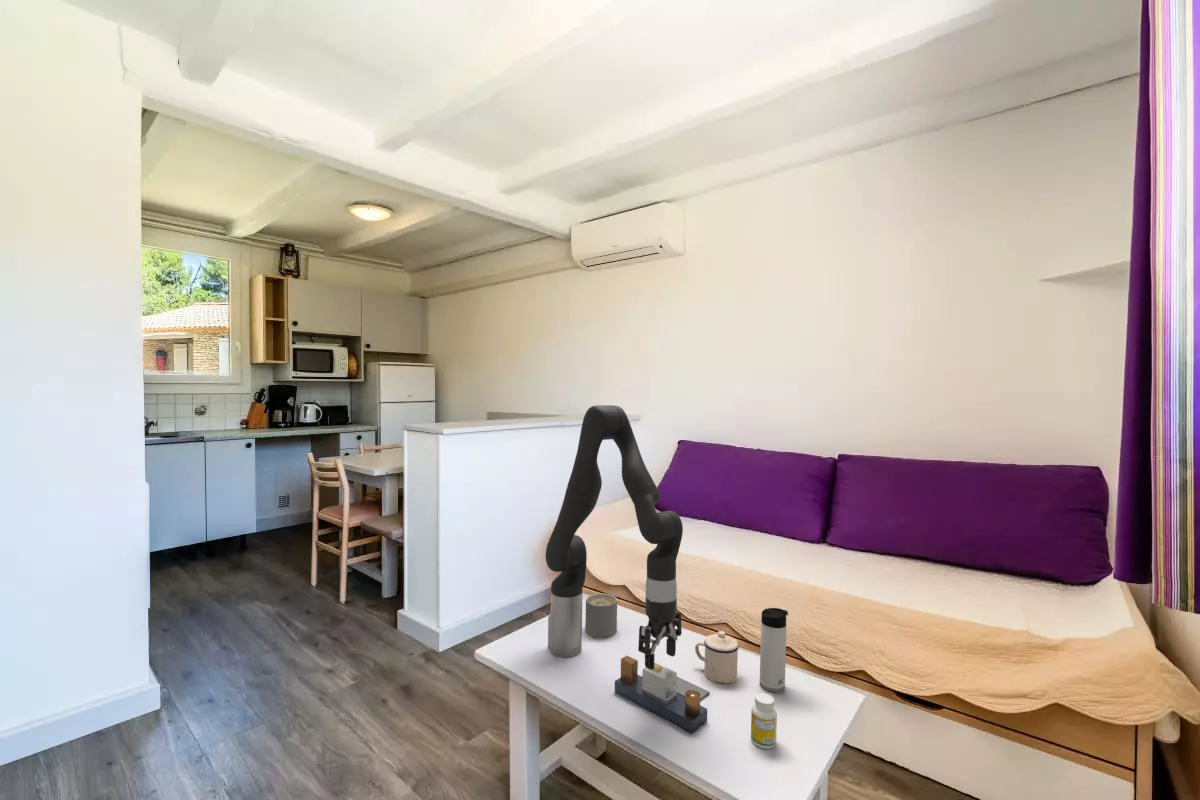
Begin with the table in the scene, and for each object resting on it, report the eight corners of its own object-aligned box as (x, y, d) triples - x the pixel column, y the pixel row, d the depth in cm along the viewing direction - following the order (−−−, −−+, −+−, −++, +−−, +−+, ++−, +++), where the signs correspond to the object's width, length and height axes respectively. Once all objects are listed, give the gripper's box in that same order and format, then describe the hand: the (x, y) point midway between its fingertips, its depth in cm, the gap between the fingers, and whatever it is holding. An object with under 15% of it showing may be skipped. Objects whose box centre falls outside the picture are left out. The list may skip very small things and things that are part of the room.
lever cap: (642, 688, 128) (642, 665, 128) (653, 681, 132) (653, 658, 131) (665, 701, 124) (666, 676, 123) (676, 693, 127) (676, 669, 127)
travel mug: (787, 694, 134) (789, 616, 133) (760, 691, 135) (762, 614, 134) (784, 681, 140) (786, 606, 139) (758, 678, 141) (760, 604, 140)
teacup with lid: (742, 673, 143) (743, 630, 143) (730, 688, 136) (731, 643, 136) (701, 659, 150) (702, 619, 150) (688, 673, 143) (688, 630, 143)
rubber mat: (657, 684, 137) (657, 682, 137) (670, 675, 141) (670, 673, 141) (696, 704, 129) (696, 701, 129) (709, 693, 133) (709, 691, 133)
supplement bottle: (770, 753, 112) (771, 708, 112) (746, 742, 115) (747, 698, 115) (780, 740, 116) (781, 697, 116) (756, 730, 119) (757, 688, 119)
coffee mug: (601, 641, 160) (601, 608, 160) (578, 630, 167) (579, 599, 167) (630, 627, 170) (630, 596, 169) (607, 617, 176) (608, 588, 176)
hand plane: (614, 692, 133) (615, 661, 133) (630, 682, 138) (631, 652, 138) (691, 734, 117) (692, 699, 117) (707, 721, 122) (707, 687, 122)
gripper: (665, 583, 135) (665, 646, 135) (630, 599, 124) (629, 667, 125) (690, 591, 130) (690, 656, 130) (655, 608, 119) (655, 679, 119)
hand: (660, 661), depth 127 cm, fingers open, 8 cm apart
